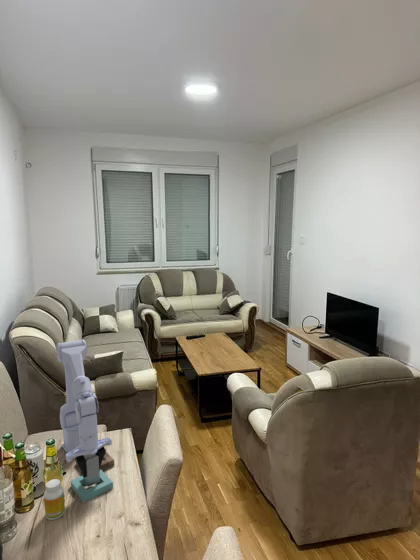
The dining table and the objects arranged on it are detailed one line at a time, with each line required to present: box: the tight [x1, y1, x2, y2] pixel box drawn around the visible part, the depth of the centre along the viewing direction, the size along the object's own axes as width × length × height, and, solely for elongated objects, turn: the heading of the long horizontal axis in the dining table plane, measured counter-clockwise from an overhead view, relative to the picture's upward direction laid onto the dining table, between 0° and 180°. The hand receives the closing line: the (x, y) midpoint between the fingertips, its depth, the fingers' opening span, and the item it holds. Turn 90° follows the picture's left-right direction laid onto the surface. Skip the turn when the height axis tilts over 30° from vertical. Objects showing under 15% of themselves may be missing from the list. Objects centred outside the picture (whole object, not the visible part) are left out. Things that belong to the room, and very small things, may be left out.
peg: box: [83, 453, 100, 488], centre depth 122 cm, size 4×4×9 cm
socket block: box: [75, 451, 115, 471], centre depth 135 cm, size 10×10×2 cm
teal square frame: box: [70, 469, 114, 503], centre depth 123 cm, size 10×10×2 cm
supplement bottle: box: [43, 478, 66, 521], centre depth 111 cm, size 5×5×10 cm
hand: (90, 472), depth 123 cm, fingers closed on peg, 4 cm apart
